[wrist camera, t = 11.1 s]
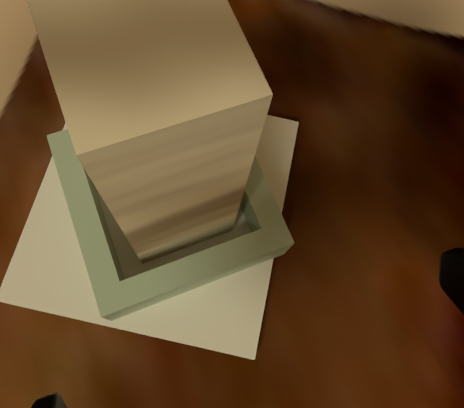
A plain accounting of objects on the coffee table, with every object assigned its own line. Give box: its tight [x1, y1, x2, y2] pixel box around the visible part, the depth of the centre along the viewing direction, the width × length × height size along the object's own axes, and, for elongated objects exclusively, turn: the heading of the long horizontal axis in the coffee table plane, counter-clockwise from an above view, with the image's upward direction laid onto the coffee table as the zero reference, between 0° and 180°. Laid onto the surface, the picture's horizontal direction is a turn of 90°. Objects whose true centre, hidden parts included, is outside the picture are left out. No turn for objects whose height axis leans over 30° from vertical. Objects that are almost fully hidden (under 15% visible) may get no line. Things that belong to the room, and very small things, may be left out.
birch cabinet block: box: [27, 0, 273, 264], centre depth 17 cm, size 6×5×13 cm
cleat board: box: [0, 115, 299, 360], centre depth 23 cm, size 14×14×4 cm
